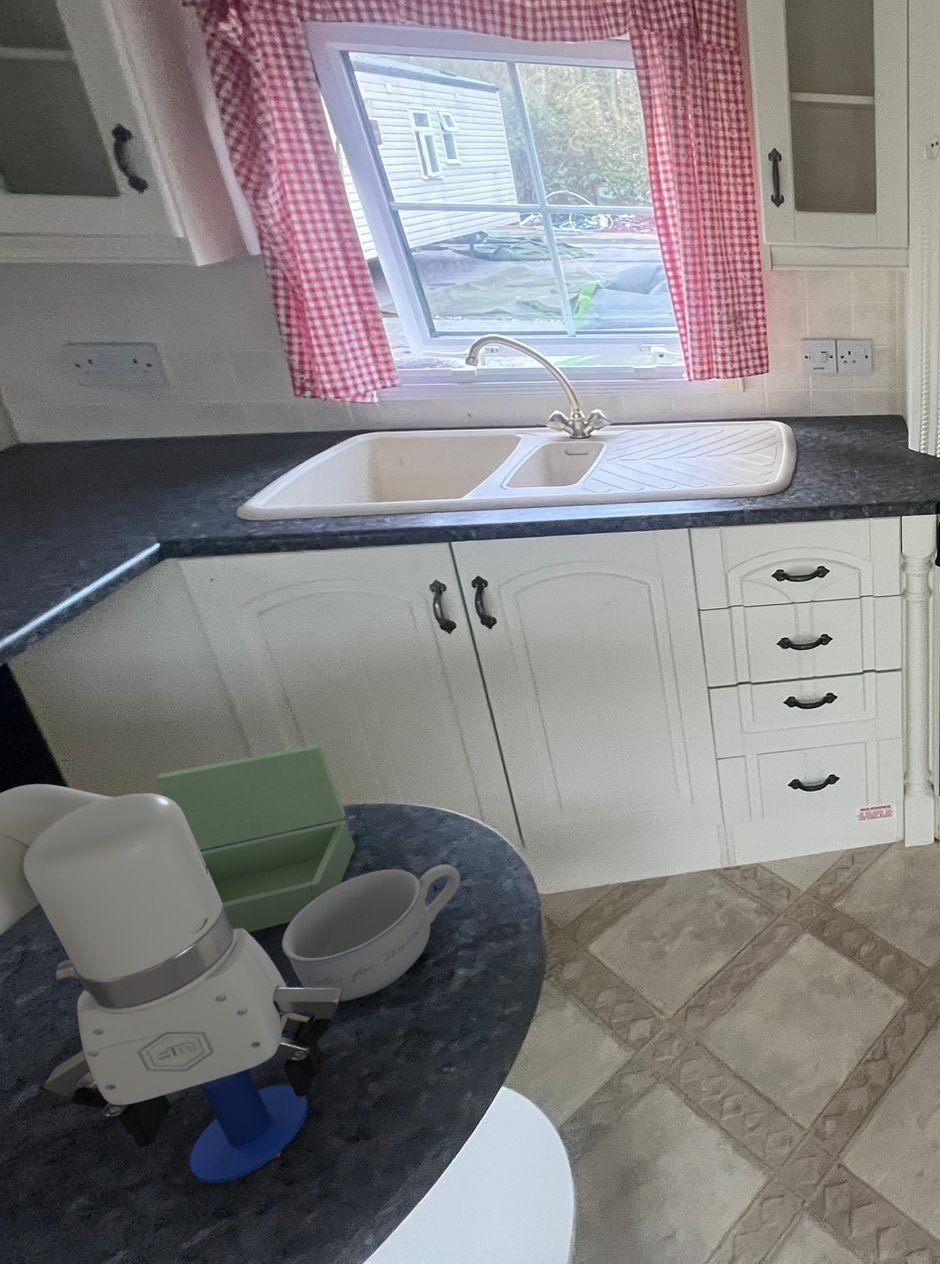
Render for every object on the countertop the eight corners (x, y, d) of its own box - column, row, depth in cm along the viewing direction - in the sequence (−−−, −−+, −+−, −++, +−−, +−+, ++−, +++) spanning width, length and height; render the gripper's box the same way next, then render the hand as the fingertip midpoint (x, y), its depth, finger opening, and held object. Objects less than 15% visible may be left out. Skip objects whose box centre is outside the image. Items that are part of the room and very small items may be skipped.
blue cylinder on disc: (174, 1200, 63) (138, 1136, 61) (214, 1108, 70) (183, 1047, 67) (291, 1160, 66) (261, 1097, 63) (320, 1075, 72) (294, 1015, 69)
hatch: (317, 748, 90) (319, 743, 90) (155, 778, 84) (159, 773, 85) (343, 819, 94) (345, 814, 94) (191, 852, 89) (194, 846, 89)
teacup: (307, 1042, 75) (282, 981, 72) (302, 960, 83) (278, 902, 80) (483, 957, 84) (466, 899, 81) (463, 890, 92) (448, 834, 89)
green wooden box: (330, 916, 88) (318, 883, 86) (165, 958, 83) (149, 924, 81) (356, 850, 96) (345, 819, 94) (208, 885, 91) (194, 852, 89)
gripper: (-42, 1042, 53) (61, 1201, 60) (291, 955, 60) (352, 1105, 67) (30, 948, 60) (116, 1100, 66) (324, 878, 67) (377, 1022, 73)
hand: (234, 1103), depth 66 cm, fingers open, 9 cm apart
